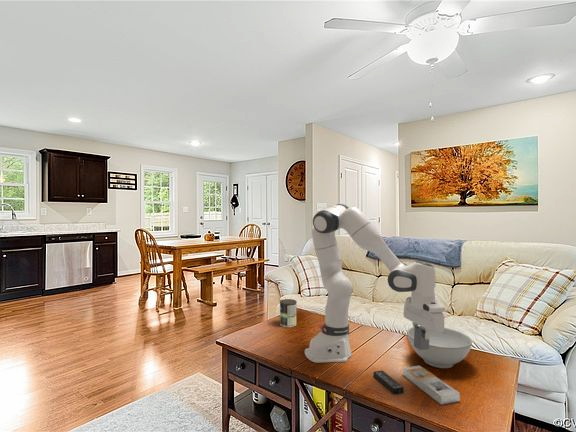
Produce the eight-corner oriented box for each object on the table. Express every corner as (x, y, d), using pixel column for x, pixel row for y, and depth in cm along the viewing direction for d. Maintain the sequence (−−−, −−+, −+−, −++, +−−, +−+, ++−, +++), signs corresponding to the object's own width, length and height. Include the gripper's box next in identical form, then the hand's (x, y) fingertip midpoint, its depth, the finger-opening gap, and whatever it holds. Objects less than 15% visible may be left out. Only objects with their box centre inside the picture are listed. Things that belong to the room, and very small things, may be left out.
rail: (441, 404, 116) (441, 395, 116) (403, 375, 137) (403, 367, 137) (459, 401, 118) (459, 392, 118) (419, 372, 139) (419, 365, 139)
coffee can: (278, 326, 194) (278, 303, 194) (280, 321, 204) (280, 298, 204) (295, 327, 193) (296, 303, 193) (297, 321, 203) (297, 299, 203)
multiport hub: (382, 375, 137) (382, 370, 137) (404, 393, 123) (404, 387, 123) (372, 377, 136) (373, 371, 136) (394, 395, 122) (394, 389, 122)
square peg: (420, 350, 129) (421, 330, 129) (413, 346, 133) (414, 326, 133) (428, 349, 130) (429, 329, 130) (422, 345, 134) (422, 325, 134)
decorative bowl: (464, 353, 158) (465, 328, 157) (478, 381, 132) (479, 351, 132) (406, 346, 166) (406, 323, 166) (408, 371, 140) (408, 343, 140)
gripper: (400, 295, 140) (399, 327, 140) (434, 309, 121) (432, 346, 121) (412, 295, 142) (411, 326, 142) (448, 308, 122) (446, 345, 123)
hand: (421, 336), depth 131 cm, fingers closed on square peg, 4 cm apart
